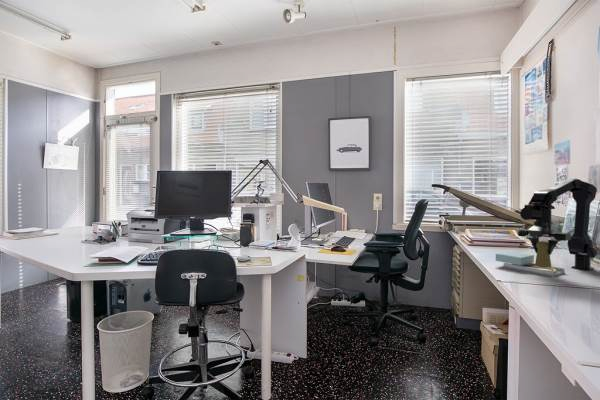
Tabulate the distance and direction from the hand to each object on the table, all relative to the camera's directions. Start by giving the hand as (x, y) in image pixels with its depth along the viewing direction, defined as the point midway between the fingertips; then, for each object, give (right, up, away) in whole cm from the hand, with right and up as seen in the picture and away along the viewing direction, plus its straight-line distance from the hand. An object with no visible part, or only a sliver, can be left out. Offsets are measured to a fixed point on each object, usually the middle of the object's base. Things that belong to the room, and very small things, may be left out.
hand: (543, 253), depth 149 cm
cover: (-6, -6, +11) cm, 13 cm away
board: (-2, -9, +4) cm, 9 cm away
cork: (0, -6, 0) cm, 6 cm away
